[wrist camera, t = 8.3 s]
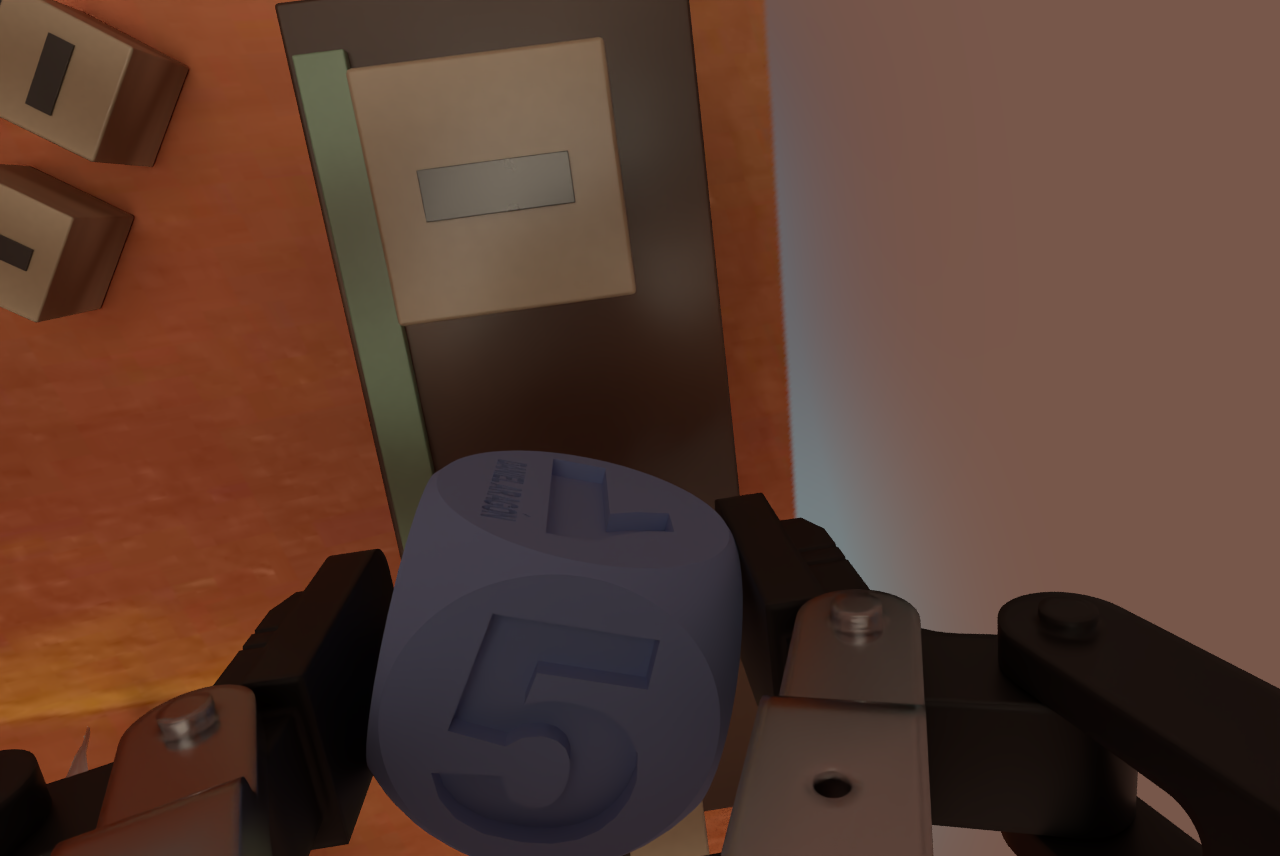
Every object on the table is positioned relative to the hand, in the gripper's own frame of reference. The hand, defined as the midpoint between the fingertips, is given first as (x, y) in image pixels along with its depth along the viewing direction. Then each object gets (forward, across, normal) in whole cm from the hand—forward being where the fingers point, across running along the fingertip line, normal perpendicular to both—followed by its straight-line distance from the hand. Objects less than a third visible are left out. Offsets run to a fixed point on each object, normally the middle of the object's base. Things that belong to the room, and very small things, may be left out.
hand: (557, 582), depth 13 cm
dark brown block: (+22, 0, 0) cm, 22 cm away
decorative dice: (+1, 0, 0) cm, 1 cm away
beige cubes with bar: (+22, +20, -7) cm, 31 cm away
